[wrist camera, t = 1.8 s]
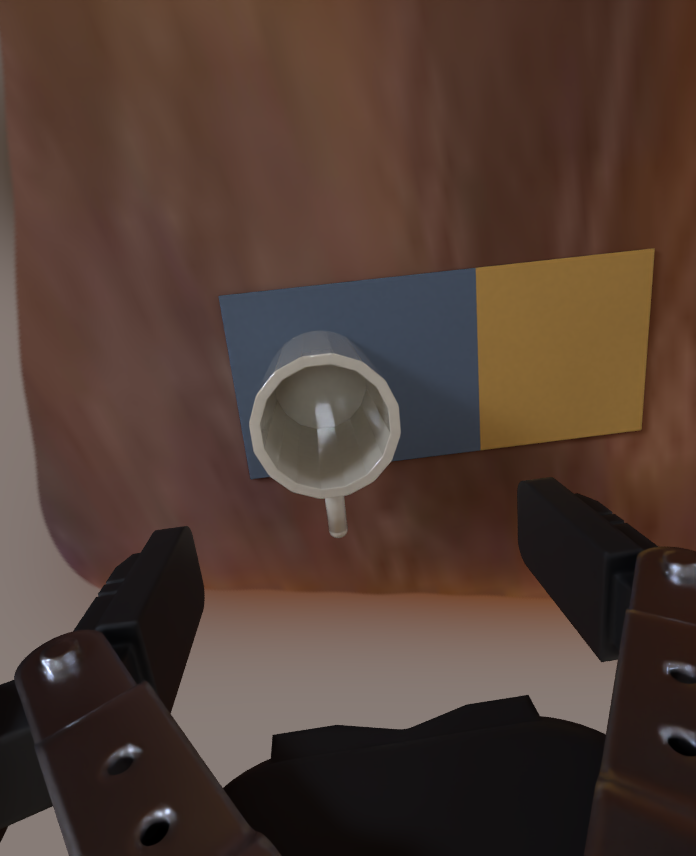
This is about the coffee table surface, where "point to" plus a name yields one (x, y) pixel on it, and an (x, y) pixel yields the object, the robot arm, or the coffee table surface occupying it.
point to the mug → (324, 421)
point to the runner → (473, 348)
